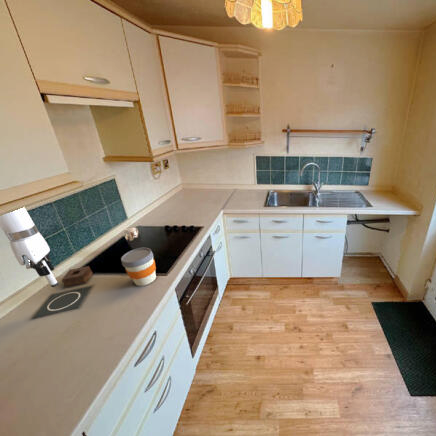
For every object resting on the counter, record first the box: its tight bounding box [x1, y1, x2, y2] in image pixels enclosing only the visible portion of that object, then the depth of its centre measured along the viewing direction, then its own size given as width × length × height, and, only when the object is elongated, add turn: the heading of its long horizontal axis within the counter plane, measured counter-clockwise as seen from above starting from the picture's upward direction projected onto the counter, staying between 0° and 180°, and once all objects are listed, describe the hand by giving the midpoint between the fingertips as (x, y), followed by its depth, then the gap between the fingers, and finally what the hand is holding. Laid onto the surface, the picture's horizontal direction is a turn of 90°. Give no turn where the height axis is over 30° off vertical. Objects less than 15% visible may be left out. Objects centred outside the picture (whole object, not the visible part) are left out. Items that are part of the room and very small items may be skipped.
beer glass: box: [123, 226, 144, 250], centre depth 132 cm, size 7×7×15 cm
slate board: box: [32, 285, 92, 320], centre depth 100 cm, size 15×14×1 cm
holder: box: [61, 265, 93, 288], centre depth 112 cm, size 8×8×5 cm
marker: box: [36, 260, 59, 288], centre depth 91 cm, size 2×2×12 cm
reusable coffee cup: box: [120, 247, 157, 287], centre depth 109 cm, size 12×13×15 cm
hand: (47, 272), depth 91 cm, fingers closed on marker, 2 cm apart
